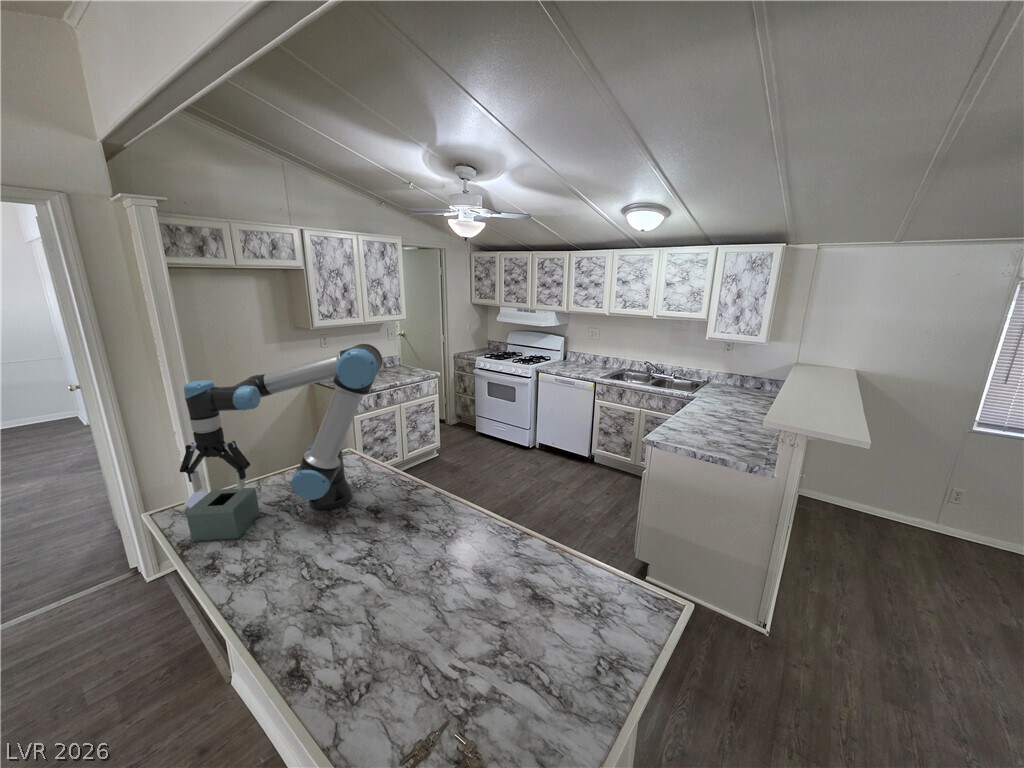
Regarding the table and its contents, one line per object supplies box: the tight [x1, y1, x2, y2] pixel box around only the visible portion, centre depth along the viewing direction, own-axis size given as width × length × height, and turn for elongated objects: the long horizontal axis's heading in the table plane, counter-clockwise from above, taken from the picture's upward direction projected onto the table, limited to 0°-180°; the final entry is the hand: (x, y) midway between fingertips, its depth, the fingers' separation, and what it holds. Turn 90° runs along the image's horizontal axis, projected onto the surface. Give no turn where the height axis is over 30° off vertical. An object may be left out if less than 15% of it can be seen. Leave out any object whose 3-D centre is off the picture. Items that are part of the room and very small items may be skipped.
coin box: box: [185, 487, 261, 543], centre depth 135 cm, size 14×14×11 cm
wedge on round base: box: [183, 490, 209, 509], centre depth 146 cm, size 9×7×13 cm
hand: (220, 489), depth 133 cm, fingers open, 13 cm apart
